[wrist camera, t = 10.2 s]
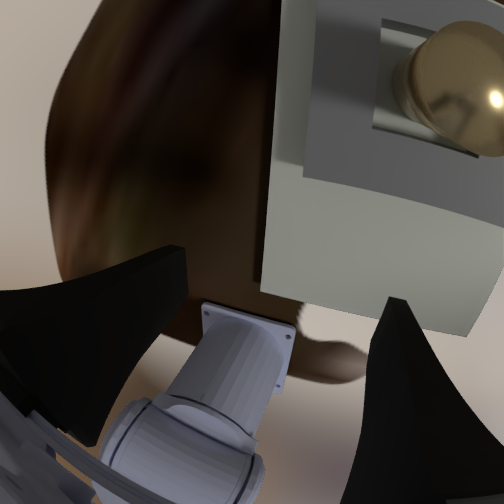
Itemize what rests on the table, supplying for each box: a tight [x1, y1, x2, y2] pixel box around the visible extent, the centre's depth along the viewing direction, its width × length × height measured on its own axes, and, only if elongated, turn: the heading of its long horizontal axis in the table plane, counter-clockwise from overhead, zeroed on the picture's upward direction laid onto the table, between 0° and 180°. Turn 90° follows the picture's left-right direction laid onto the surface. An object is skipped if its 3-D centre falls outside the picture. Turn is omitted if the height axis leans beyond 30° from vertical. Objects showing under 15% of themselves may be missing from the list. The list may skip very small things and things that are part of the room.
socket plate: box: [260, 0, 504, 337], centre depth 13 cm, size 22×16×3 cm
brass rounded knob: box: [391, 21, 504, 157], centre depth 9 cm, size 4×4×8 cm
